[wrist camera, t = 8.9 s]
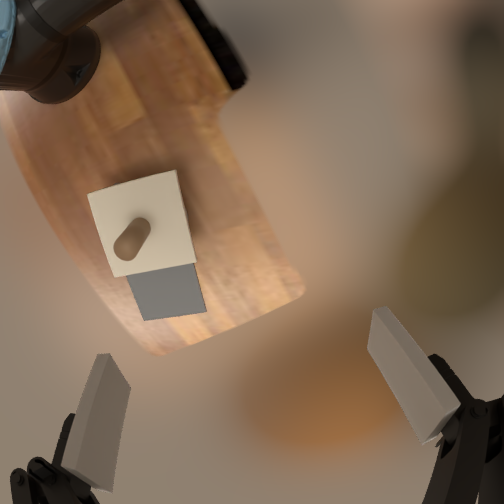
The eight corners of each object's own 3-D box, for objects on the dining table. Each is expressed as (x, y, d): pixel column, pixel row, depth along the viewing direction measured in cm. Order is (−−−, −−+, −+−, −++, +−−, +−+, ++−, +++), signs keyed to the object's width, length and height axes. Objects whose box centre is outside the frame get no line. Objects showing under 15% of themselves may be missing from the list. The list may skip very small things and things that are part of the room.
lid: (89, 192, 33) (62, 208, 26) (176, 169, 34) (165, 179, 27) (116, 274, 39) (99, 303, 32) (197, 259, 39) (193, 288, 32)
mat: (122, 262, 47) (121, 263, 46) (190, 249, 47) (190, 250, 47) (144, 319, 52) (144, 320, 52) (206, 310, 53) (206, 311, 52)
